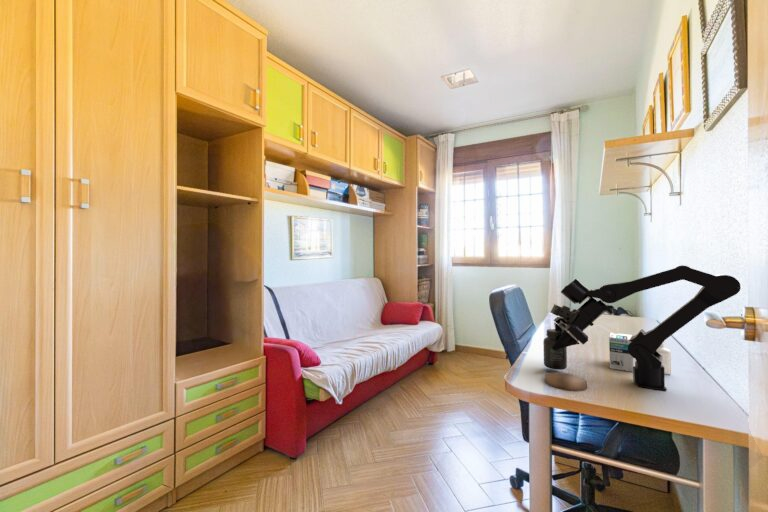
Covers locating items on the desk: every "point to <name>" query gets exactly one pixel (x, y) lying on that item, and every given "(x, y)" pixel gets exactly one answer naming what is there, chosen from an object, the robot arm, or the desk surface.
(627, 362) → the light bulb box
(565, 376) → the walnut coaster
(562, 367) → the supplement bottle
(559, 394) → the desk surface
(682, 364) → the desk surface
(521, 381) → the desk surface
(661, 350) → the eye dropper bottle
